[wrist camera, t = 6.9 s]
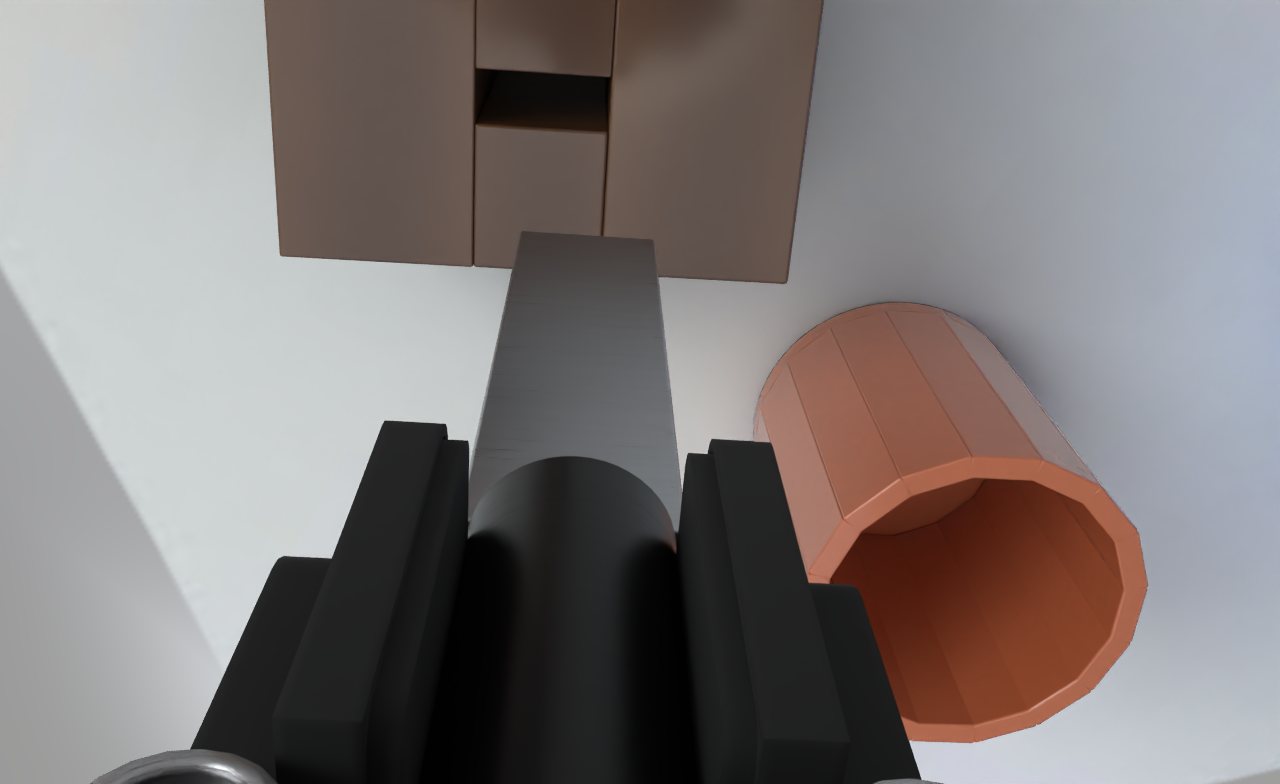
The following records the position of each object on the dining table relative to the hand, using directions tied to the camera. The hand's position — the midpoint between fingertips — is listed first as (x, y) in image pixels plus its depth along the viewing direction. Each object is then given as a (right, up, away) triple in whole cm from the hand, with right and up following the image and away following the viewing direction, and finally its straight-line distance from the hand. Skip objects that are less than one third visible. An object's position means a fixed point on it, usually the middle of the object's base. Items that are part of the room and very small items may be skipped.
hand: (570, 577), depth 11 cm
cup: (+8, +1, +27) cm, 28 cm away
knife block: (-2, +11, +22) cm, 25 cm away
